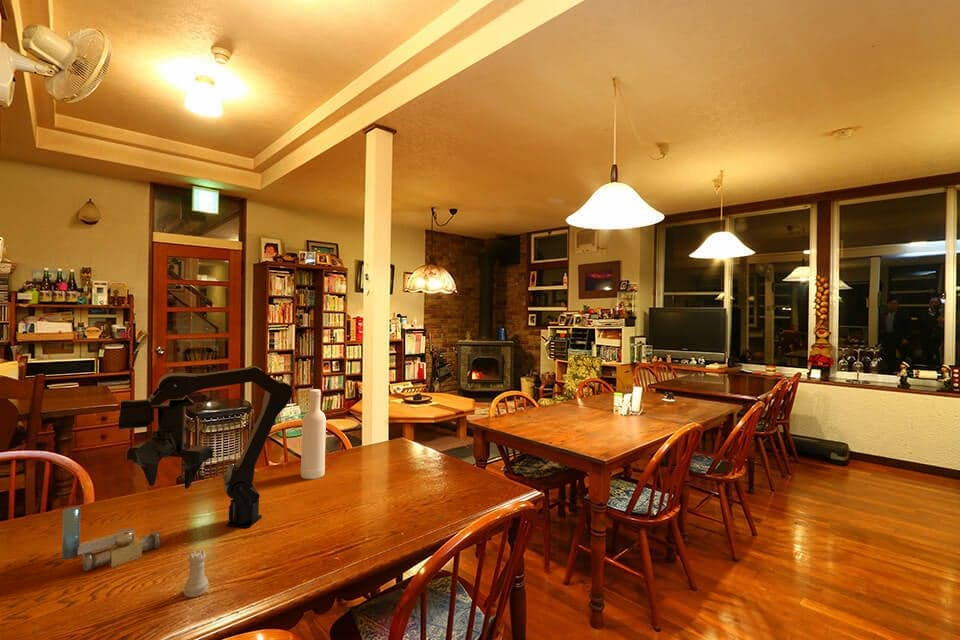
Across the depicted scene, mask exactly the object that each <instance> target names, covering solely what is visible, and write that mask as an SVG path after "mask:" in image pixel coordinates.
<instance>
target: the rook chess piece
mask: <svg viewBox="0 0 960 640" xmlns="http://www.w3.org/2000/svg"><path fill="white" fill-rule="evenodd" d="M206 558H207V554H206V553H205V550H203V549H202V550H201V549H198V550H197V552H196V551H195V550H193V551H192V552H190V554H189V557H188V558H187V562H188V563H189V565H188V569H189V574H188V578H187V580H186V583H185V584H184V586H183V595H184V596H185V597H187V598H189V599H190V598H197V597H198V598H199V597H200V596H203V595H204V594H205V593H206V592H207V591H208V590H209V588H210V585H209V579H208V578H207V576H206V575H205V570H204V569H205V564H206V563H205V559H206Z"/></svg>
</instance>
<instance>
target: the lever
mask: <svg viewBox="0 0 960 640" xmlns="http://www.w3.org/2000/svg"><path fill="white" fill-rule="evenodd" d="M134 535H135V529H134V528H133V527H126V528H121V529H120V528H119V529H118V530H115V531H114V532H113V533H112V534H109V535H105V536H101V537H97V538H94V539H93V538H92V539H90V540H86V541H83V542H81V507H80V506H73V507H68V508H65V509H64V510H62V537H61V538H62V539H61V540H62V542H61V543H62V545H61V547H62V548H61V549H62V550H61V558H62V560H70V559H74V558H76V557H79V556H80V555H83V553H86V552H89V551H90V552H92V551H93V552H94V551H95V550H96V551H97V550H101V549H104V547H107V546H110V545H123V544H127V543H129V542H131V541H133V540H134Z"/></svg>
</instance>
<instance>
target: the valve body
mask: <svg viewBox="0 0 960 640" xmlns="http://www.w3.org/2000/svg"><path fill="white" fill-rule="evenodd" d="M161 539H162V538H161V534H160V531H158V530H155V531H152V532H151V531H150V534H147V535H144V536H141V537H137V536H136V534H134V540H133V541H131V542H129V543H127V544H123V545H110V546H107V547H103V548H101V549H98V550H96V551H95V550H94V551H93V552H92V551H89V552H86V553H83V554H82V556H81V557H82V560H81V561H82V568H83V571H84V572H89V571H91V570H93V569H95V568H97V567H100V566H103V565H106V564H108V566H109V567H110V566H111V567H112V568H114V566H115V567H117V565H118V566H121V565H123V563H124V564H126V562H127V563H130V562H132V560H133V561H135V559H136V560H138V558H139V559H141V558H143V552H145V551H148V550H151V549H153V548H154V549H156V548H159V547H160V546H161V543H162V541H161ZM129 561H130V562H129ZM120 564H121V565H120ZM111 567H110V568H111Z"/></svg>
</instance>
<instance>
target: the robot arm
mask: <svg viewBox="0 0 960 640" xmlns="http://www.w3.org/2000/svg"><path fill="white" fill-rule="evenodd" d="M158 380H159V381H158V382H157V388H156V389H155V390H154V391H153V392H152V394H150V395H149V397H148V398H146V399H134V400H133V399H123V400H121V401H120V407H119V410H120V411H119V415H118V430H119V431H120V430H130V429H141V428H148V427H149V425H151V423H154V422H155V410H156V409H157V411H156V412H157V413H156V415H157V419H156V429H154V430H153V431H152V434H151V437H150V440H147V441H146V442H141V443H139V444H136V445H132V446H130V447H128V450H127V451H126V455H125V457H126V458H125V459H126V460H128V461H130V462H131V463H132V464H136V465H138V466H139V467H140V468H141V470H142V471H143V474H144V476H145V479H146V480H147V483H148V485H149V487H154V486H155V484H156V481H157V475H158V470H159V463H160V461H161V460H162V459H163V458H164V459H168V457H172V458H173V457H175V458H182V462H183V463H181V467H182V468H183V469H184V481H183V482H184V489H186V490H187V489H190V487H191V484H193V481H194V479H195V477H196V475H197V473H198V471H199V470H200V468H201V466H202V464H204V462H206V461H208V460H209V459H211V458H213V457H214V449H213V447H211V446H210V445H199V444H198V445H195V446H193V447H190V448H188V449H186V448H187V447H189V441H188V442H186V441H185V433H186V432H188V431H189V426H188V425H187V426H186V407H193V406H194V405H195V402H194V400H192V399H190V398H189V396H188V395H192V394H194V393H196V392H199V391H203V390H206V389H214V388H220V387H226V386H233V385H239V384H245V383H254V384H255V385H257V386H258V387H260V388H262V389H263V390H264V395H263V400H262V406H261V407H262V408H261V411H260V414H259V416H258V418H257V420H256V422H255V424H254V426H253V429H252V431H251V433H250V436H249V437H248V440H247V442H246V444H245V447H244V448H243V451H242V453H241V455H240V458H239V459H238V460H237V462H236V463H234V464H233V463H228V466H227V470H226V472H225V474H223V476H222V480H223V487H224V490H225V492H226V494H227V497H228V498H230V499H231V500H230V505H228V522H227V523H226V524H225V525H226V527H235V528H251V527H252V526H253V525H254V524H255V523H257V522H258V521H259V520H261V519H262V517H263V515H261V514H259V512H260V511H259V509H260V496H261V495H260V493H259V491H258V490H257V488H256V486H255V485H254V483H253V481H254V477H255V469H256V465H257V462H258V460H259V458H260V455H261V453H262V451H263V449H264V447H265V444H266V442H267V440H268V438H269V436H270V433H271V431H272V428H273V426H274V424H275V422H276V419H277V417H278V416H279V414H280V413H281V412H283V410H284V409H285V408H286V407H287V405H288V403H289V402H290V400H291V399H292V397H293V395H294V391H293V387H292V386H291V385H290V384H289V383H287V382H286V381H283V380H281V379H274V377H271V376H270V375H268V374H267V373H266V372H264V371H263V370H262V369H261V368H260V367H258V366H255V365H251V366H247V367H240V368H234V369H233V368H232V369H226V370H219V371H211V372H203V373H190V372H189V373H187V372H169V373H166V374H164V375H162V377H160V378H159V379H158ZM166 401H168V402H166ZM165 402H166V403H165Z"/></svg>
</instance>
